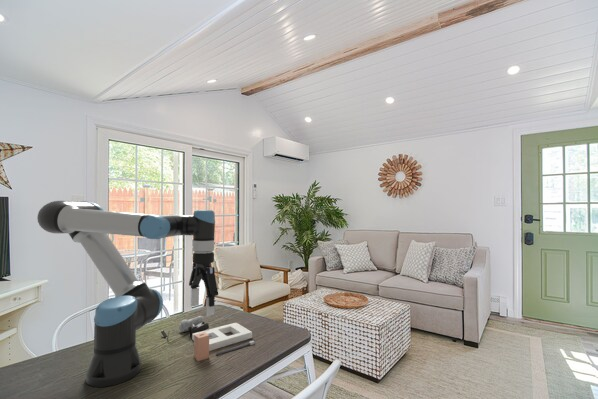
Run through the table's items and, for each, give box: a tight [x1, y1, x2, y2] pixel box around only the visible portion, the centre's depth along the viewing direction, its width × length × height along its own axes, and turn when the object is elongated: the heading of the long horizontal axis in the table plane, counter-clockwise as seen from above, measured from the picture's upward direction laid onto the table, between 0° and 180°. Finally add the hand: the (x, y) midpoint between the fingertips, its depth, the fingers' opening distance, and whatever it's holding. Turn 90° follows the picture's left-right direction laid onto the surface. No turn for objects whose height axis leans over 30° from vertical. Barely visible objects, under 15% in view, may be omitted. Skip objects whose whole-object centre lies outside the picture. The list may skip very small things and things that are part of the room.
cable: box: [215, 340, 256, 356], centre depth 115 cm, size 16×1×1 cm, turn 130°
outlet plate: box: [191, 322, 253, 352], centre depth 124 cm, size 20×14×3 cm
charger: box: [193, 332, 210, 362], centre depth 109 cm, size 4×4×8 cm
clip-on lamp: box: [160, 315, 210, 339], centre depth 129 cm, size 12×6×18 cm
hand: (202, 310), depth 109 cm, fingers open, 13 cm apart
